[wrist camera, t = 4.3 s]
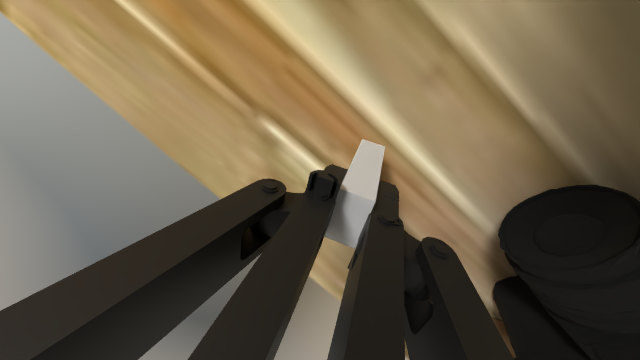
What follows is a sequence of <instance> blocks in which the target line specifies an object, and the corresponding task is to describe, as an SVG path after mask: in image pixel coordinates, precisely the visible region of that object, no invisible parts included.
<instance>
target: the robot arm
mask: <svg viewBox="0 0 640 360" xmlns="http://www.w3.org/2000/svg"><path fill="white" fill-rule="evenodd" d="M384 150H385V146H382V145H379V144H376V143H373V142H370V141H367V140H364V139H362V141H361V143H360V145H359V147H358V150H357V152H356V154H355V156H354V158H353V160H352V163H351V165H350V167H349V169H348V170H347V169H344V168H341V167H339V166H336V165H333V164H332V165H329V166H327V167H326V168H325V169H324V170H316V171H313V172H311V173H310V176H309V180H308V184H307V188H306V191H305V192H304V193H291V192H286V187H285V185H284V184H283V183H282V182H280V181H277V180H275V179H261V180H258V181H256V182H254V183H252V184H250V185H248V186H246V187H244V188H242V189H240V190H238V191H236V192H234V193H232V194H230V195H228V196H227V197H225V198H223V199H221V200H219V201H217V202H215V203H213V204H211V205H209V206H207V207H205V208H203V209H201V210H199V211H197V212H195V213H193V214H191V215H189V216H187V217H185V218H183V219H181V220H179V221H177V222H175V223H173V224H171V225H169V226H167V227H165V228H163V229H161V230H159V231H157V232H155V233H153V234H151V235H150V236H147V237H146V238H144V239H142V240H140V241H138V242H136V243H134V244H132V245H130V246H128V247H126V248H124V249H122V250H120V251H118V252H116V253H114V254H112V255H110V256H108V257H106V258H104V259H102V260H100V261H98V262H96V263H94V264H92V265H90V266H88V267H86V268H84V269H82V270H80V271H79V272H76V273H74V274H72V275H70V276H68V277H66V278H64V279H62V280H60V281H59V282H57V283H55V284H53V285H51V286H49V287H47V288H45V289H43V290H41V291H39V292H37V293H35V294H33V295H31V296H29V297H27V298H25V299H23V300H21V301H19V302H17V303H15V304H13V305H11V306H9V307H7V308H5V309H3V310H1V311H0V360H138V359H139V358H140V357H141V356H143V355H144V354H145V353H146V352H147V351H148V350H149V349H151V348H152V347H153V346H154V345H155V344H156V343H157V342H159V341H160V340H161V339H162V338H163V337H165V336H166V335H167V334H168V333H169V332H170V331H172V330H173V329H174V328H175V327H176V326H177V325H178V324H180V323H181V322H182V321H183V320H184V319H185V318H187V317H188V316H189V315H190V314H191V313H192V312H194V311H195V310H196V309H197V308H198V307H199V306H201V305H202V304H203V303H204V302H205V301H206V300H207V299H209V298H210V297H211V296H212V295H213V294H214V293H216V292H217V291H218V290H219V289H220V288H221V287H223V286H224V285H225V284H226V283H227V282H228V281H230V280H231V279H232V278H233V277H234V276H235V275H237V274H238V273H239V272H240V271H241V270H242V269H243V268H245V267H246V266H247V265H248V264H249V263H250V262H251V261H253V260H254V259H255V258H256V257H257V256H259V255H260V254H261V253H262V254H261V255H260V257H259V258H258V260H257V261H256V263H255V264H254V265H253V267H252V268H251V270H250V271H249V273H248V274H247V276H246V277H245V278H244V280H243V281H242V283H241V284H240V286H239V287H238V288H237V290H236V291H235V293H234V294H233V296H232V297H231V298H230V300H229V301H228V303H227V304H226V306H225V307H224V308H223V310H222V311H221V313H220V314H219V316H218V317H217V318H216V320H215V321H214V323H213V324H212V326H211V327H210V329H209V330H208V331H207V333H206V334H205V336H204V337H203V339H202V340H201V341H200V343H199V344H198V346H197V347H196V349H195V350H194V351H193V353H192V354H191V356H190V357H189V359H188V360H274V357H275V355H276V352H277V350H278V348H279V345H280V343H281V340H282V338H283V336H284V333H285V331H286V328H287V326H288V323H289V321H290V319H291V316H292V314H293V312H294V309H295V307H296V304H297V302H298V300H299V297H300V295H301V292H302V290H303V287H304V285H305V283H306V280H307V278H308V276H309V273H310V271H311V268H312V266H313V264H314V261H315V259H316V256H317V254H318V252H319V249H320V247H321V244H322V241H323V238H324V237H327V238H329V239H332V240H334V241H337V242H339V243H342V244H344V245H347V246H350V247H352V248H355V247H356V245H357V247H356V250H355V252H354V254H353V257H352V259H351V261H350V264H349V266H348V269H349V273H348V277H347V281H346V285H345V289H344V293H343V297H342V301H341V306H340V310H339V314H338V318H337V322H336V326H335V330H334V334H333V338H332V343H331V347H330V351H329V355H328V359H327V360H405V341H406V345H407V350H408V354H409V359H410V360H514V358H513V356H512V354H511V352H510V351H509V349H508V347H507V345H506V343H505V342H504V340H503V338H502V336H501V334H500V333H499V331H498V329H497V327H496V325H495V323H494V322H493V320H492V318H491V316H490V314H489V313H488V311H487V309H486V307H485V305H484V303H483V302H482V300H481V298H480V296H479V294H478V293H477V291H476V289H475V287H474V285H473V283H472V282H471V280H470V278H469V276H468V274H467V273H466V271H465V269H464V267H463V265H462V263H461V262H460V260H459V258H458V256H457V254H456V253H455V252H454V250H453V249H452V248H451V247H450V246H449V245H447V244H446V243H445V242H443V241H441V240H439V239H436V238H433V237H426V238H423V240H422V241H421V242H420V241H419V240H417V239H415V238H414V237H412V236H411V235H409V234H408V233H407V232H406V231H404V226H403V222H402V220H401V219H400V218H399V203H398V202H399V191H398V189H397V188H396V186H395V185H392V184H390V183H387V182H384V181H381V180H379V179H380V173H381V167H382V162H383V156H384Z"/></svg>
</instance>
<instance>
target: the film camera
mask: <svg viewBox="0 0 640 360" xmlns="http://www.w3.org/2000/svg"><path fill="white" fill-rule="evenodd" d="M498 236H499V238H500V247H501V248H502V249H503V250H504V251H505V255H506V258H507V260H508V262H509V264H510V265H511V266H512V268H513V269H514V270H515V272H516V273H517V274H518V275H517V276H514V277H511V278H507V279H504V280H501V281H499V282H497V283H496V284H495V286H494V292H493V293H494V300H495V302H496V304H497V307H498V310H499V312H500V315H501V318H502V321H503V324H504V326H505V329H506V332H507V334H508V336H509V339H510V343H511V345H512V348H513V350H514V352H515V355H516V358H514V357H513V358H514V360H640V201H638V200H637V199H635V198H634V197H632V196H630V195H629V194H627V193H625V192H622V191H618V190H615V189H611V188H608V187H603V186H598V185H576V186H569V187H562V188H559V189H551V190H548V191H545V192H543V193H541V194H538V195H536V196H533V197H531V198H528V199H527V200H525V201H523V202H521V203H520V204H518V205H517V206H515V207H514V208H513V209H512V210H511V211H510V212H509V213H508V214H507V215H506V217H505V218H504V220H503V221H502V224H501V227H500V229H499V233H498Z"/></svg>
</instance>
